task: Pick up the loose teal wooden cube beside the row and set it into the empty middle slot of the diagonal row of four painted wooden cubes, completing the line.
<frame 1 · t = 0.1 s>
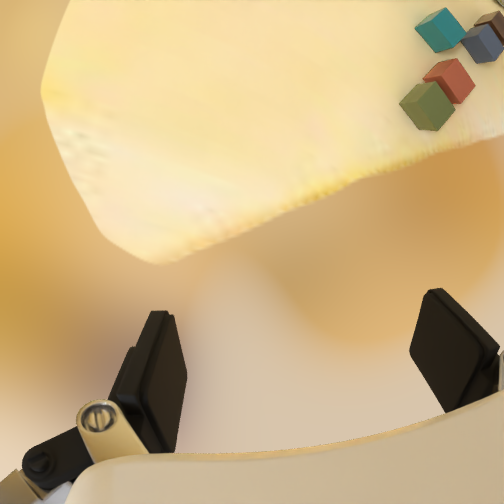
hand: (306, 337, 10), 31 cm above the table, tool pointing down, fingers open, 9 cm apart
slate cube: (473, 45, 30), on the table
terracotta cube: (440, 83, 33), on the table
walnut cube: (486, 31, 28), on the table
teal cube: (432, 33, 30), on the table
olive cube: (418, 106, 35), on the table
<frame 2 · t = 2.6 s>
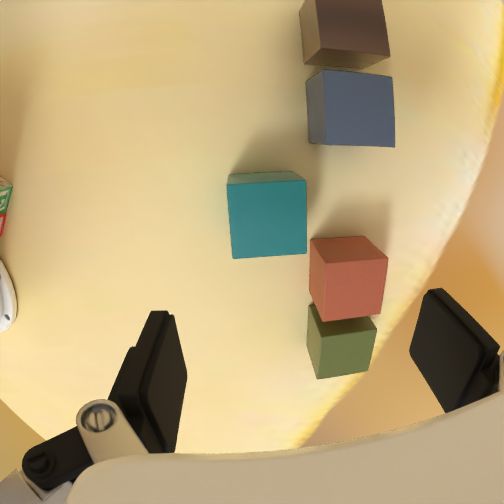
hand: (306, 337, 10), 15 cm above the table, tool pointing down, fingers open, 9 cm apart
slate cube: (337, 112, 21), on the table
terracotta cube: (336, 263, 26), on the table
walnut cube: (331, 38, 19), on the table
teal cube: (262, 203, 24), on the table
olive cube: (331, 323, 29), on the table
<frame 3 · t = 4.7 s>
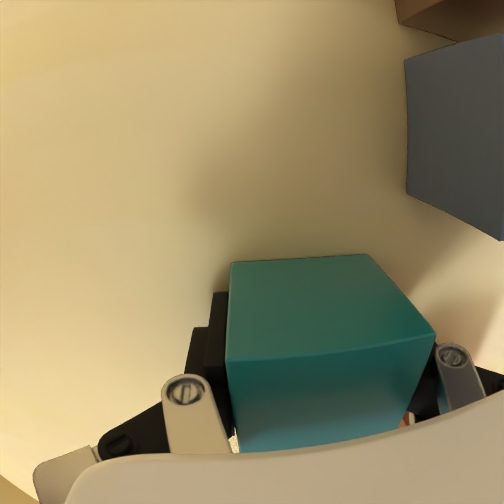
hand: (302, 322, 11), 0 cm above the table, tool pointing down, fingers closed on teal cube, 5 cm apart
slate cube: (457, 133, 9), on the table
teal cube: (300, 316, 12), on the table, touching gripper
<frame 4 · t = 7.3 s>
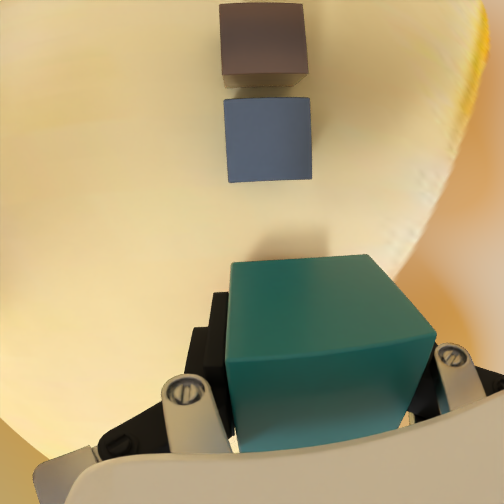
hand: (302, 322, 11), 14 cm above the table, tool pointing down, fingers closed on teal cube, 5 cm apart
slate cube: (262, 138, 21), on the table
walnut cube: (258, 56, 19), on the table
teal cube: (300, 316, 12), point 13 cm above the table, touching gripper
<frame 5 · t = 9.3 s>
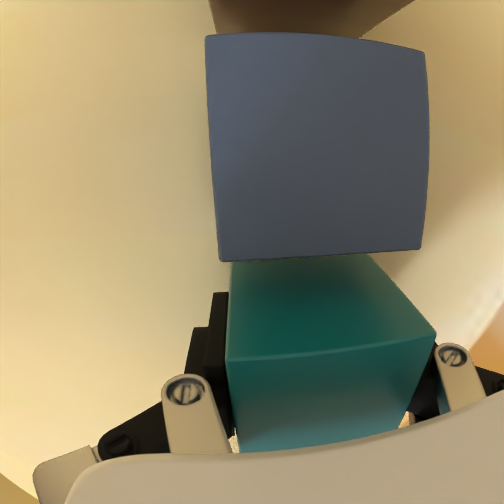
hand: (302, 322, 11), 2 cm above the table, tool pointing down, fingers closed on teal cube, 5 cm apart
slate cube: (292, 139, 10), on the table
teal cube: (300, 316, 12), point 1 cm above the table, touching gripper
when the fingers open (0 cm above the table, at t = 10.2 s): teal cube stays where it is, on the table.
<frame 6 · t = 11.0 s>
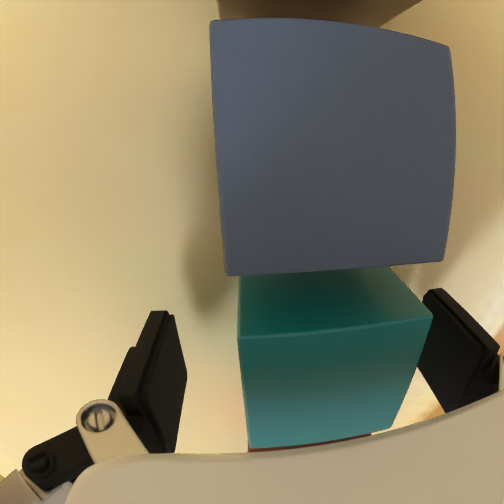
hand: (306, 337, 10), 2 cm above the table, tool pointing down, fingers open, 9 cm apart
slate cube: (302, 139, 10), on the table
terracotta cube: (296, 406, 15), on the table
teal cube: (305, 305, 12), on the table
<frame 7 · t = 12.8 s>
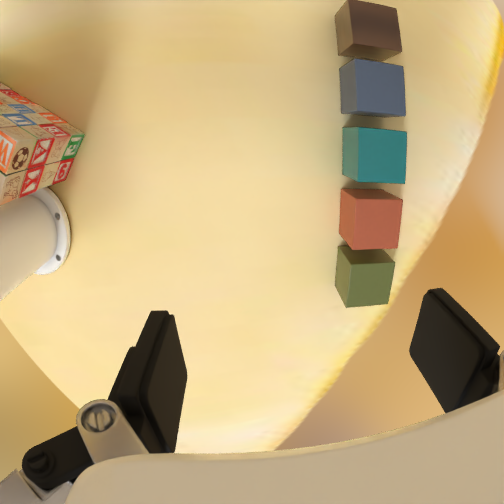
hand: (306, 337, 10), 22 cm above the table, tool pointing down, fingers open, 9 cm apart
slate cube: (362, 92, 27), on the table
terracotta cube: (361, 211, 32), on the table
walnut cube: (358, 37, 24), on the table
teal cube: (364, 151, 29), on the table
stack of blocks: (22, 122, 27), on the table
olive cube: (356, 265, 34), on the table
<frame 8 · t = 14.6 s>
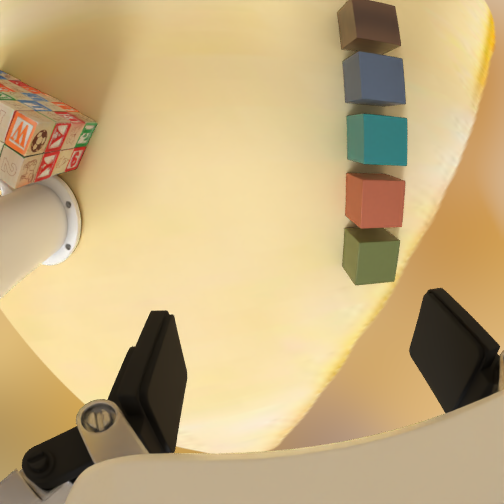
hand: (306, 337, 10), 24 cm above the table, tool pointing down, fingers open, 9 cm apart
slate cube: (364, 83, 28), on the table
terracotta cube: (365, 194, 33), on the table
walnut cube: (359, 33, 26), on the table
teal cube: (367, 138, 31), on the table
stack of blocks: (32, 112, 27), on the table
olive cube: (362, 246, 35), on the table
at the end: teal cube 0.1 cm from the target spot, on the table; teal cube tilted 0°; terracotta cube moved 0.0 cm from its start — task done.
